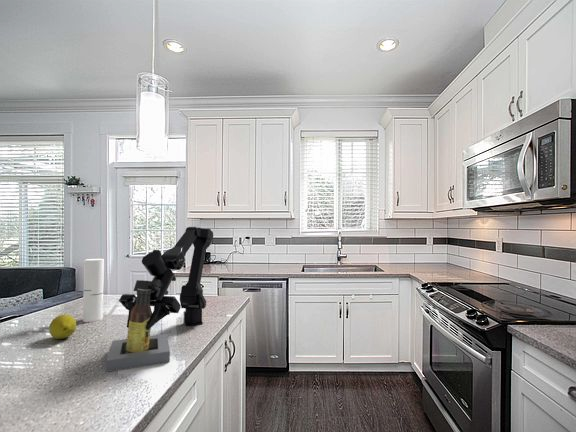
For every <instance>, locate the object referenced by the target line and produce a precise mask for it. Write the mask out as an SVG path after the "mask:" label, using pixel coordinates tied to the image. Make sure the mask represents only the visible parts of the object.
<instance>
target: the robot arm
mask: <svg viewBox="0 0 576 432" xmlns="http://www.w3.org/2000/svg"><path fill="white" fill-rule="evenodd" d="M213 238H214V231H212V230H211V228H205V227H204V228H202V227H199V226H188V227H186V228H185V231H184V233H183V235H182V236H181V237H180V238H179V239H178V241H177V242H176V243H175V244H174V246H173V247H172V248H170V249H167V250H166V251H165V252H164V253H161V251H160V249H153V250H152V252H149V253H147V254H146V255H145V256H143V257H142V259H141V264H142V265H143V266H144V268H145V269H146V271H147V272H148V273H149V275H150V276H152V280H143V279H141V280H140V279H138V280H136V281H135V285H134V287H133V292H137V289H143V290H148V289H151V294H150V307H153V311H152V315H151V317H150V319H149V321H148V323H147V326H146V329H147V330H149V329H150V328H151V329H152V327H154V326H155V325H156V324H157V323H159V322H160V321H161V320H162V319H164V318H165V317H166V316H169V315H171V314H179V312H180V310H181V309H184V311H183V324H185V326H186V327H188V326H189V327H190V326H196V325H203V324H204V322H203V309H206V307H207V300H206V298H205V297H204V290H203V287H202V285H201V280H202V276H203V270H204V263H205V258H206V252H207V249H208V248H209V247H210V246H211V244H212V241H213ZM192 245H193V254H192V258H191V263H190V264H191V265H190V269H189V274H188V280H187V282H186V283H185V284H183V285H182V286H181V290H180V293H179V301H178V299H177V298H176V296H171V295H168V294H169V291H168V289H169V288H170V284H171V283H172V282H175V281H177V279H176V278H177V277H176V275H175V272H173V271H180V270H181V269H182V268H183V266H184V264H185V262H186V257H185V256H186V255H187V252H188V251H189V249H190V248H191V247H192ZM136 300H137V295H135V294H134V293H133V294H132V293H131V294H130V293H124V294H121V296H120V297H119V300H118V302H119V304H121V305H122V306H123V307H124V308H125V309H126V310H127V311H128V315H127V322H126V328H127V329H128V328H129V320H130V313H131V310H132V308H133V307H134V306H135V304H136Z"/></svg>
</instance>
